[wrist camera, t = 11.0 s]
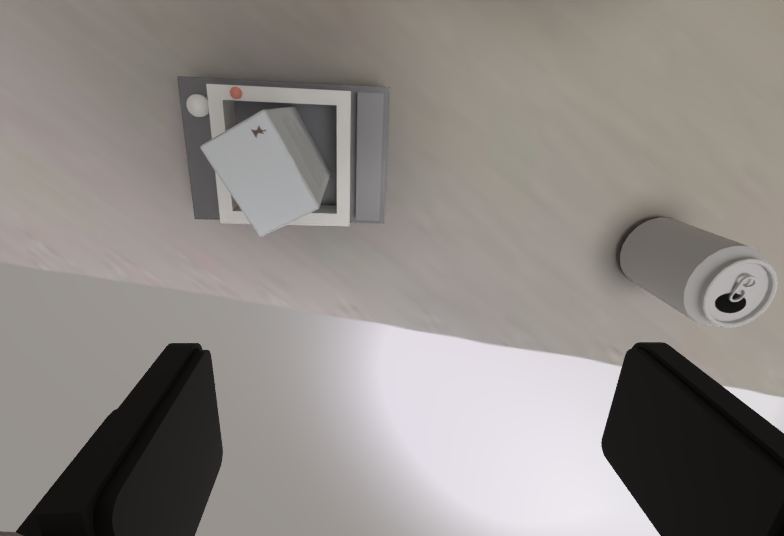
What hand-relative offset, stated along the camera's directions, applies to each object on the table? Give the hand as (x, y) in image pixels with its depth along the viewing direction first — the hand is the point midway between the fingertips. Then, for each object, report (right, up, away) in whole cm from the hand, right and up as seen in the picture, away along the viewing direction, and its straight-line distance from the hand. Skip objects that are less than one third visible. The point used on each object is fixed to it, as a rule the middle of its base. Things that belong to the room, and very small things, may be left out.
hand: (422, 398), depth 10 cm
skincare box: (-9, +12, +25) cm, 29 cm away
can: (+27, +5, +36) cm, 46 cm away
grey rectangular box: (-9, +14, +30) cm, 34 cm away
